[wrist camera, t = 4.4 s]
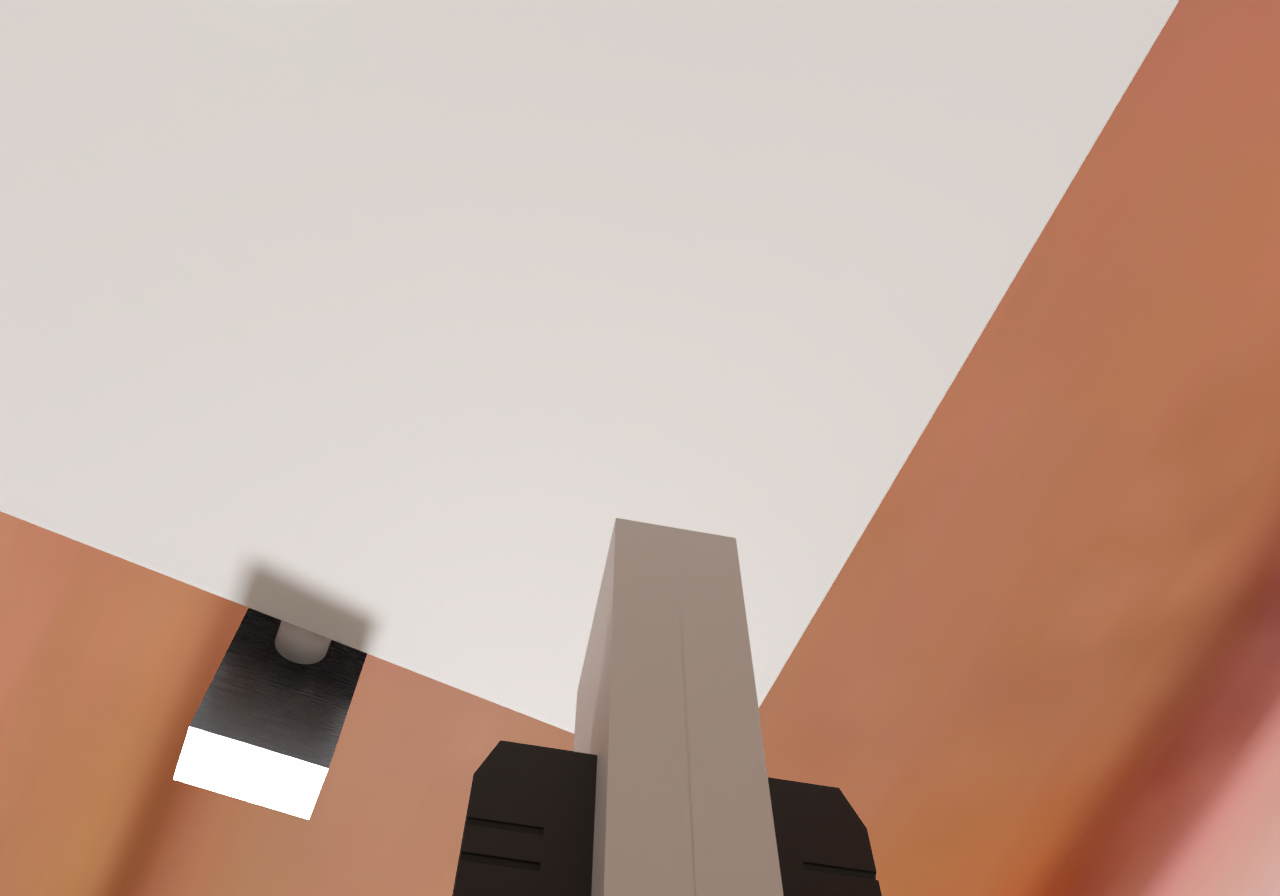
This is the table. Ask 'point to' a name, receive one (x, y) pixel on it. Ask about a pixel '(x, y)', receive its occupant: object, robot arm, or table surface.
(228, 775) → the grey stand base
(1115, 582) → the table surface
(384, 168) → the stage
